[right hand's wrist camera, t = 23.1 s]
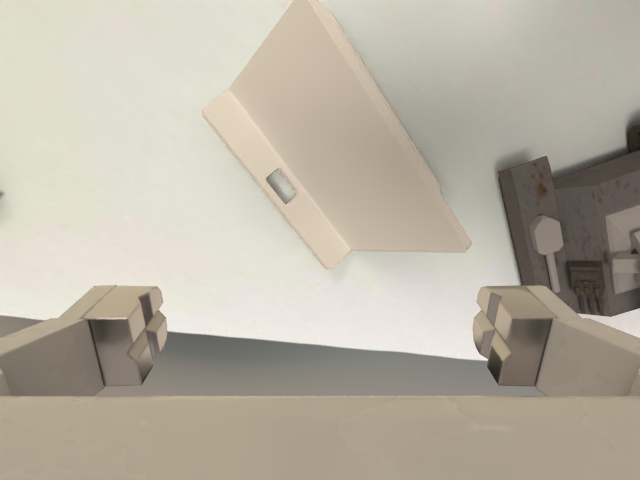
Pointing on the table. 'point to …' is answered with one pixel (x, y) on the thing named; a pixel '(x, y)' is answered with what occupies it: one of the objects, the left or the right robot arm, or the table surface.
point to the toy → (579, 230)
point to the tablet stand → (331, 145)
